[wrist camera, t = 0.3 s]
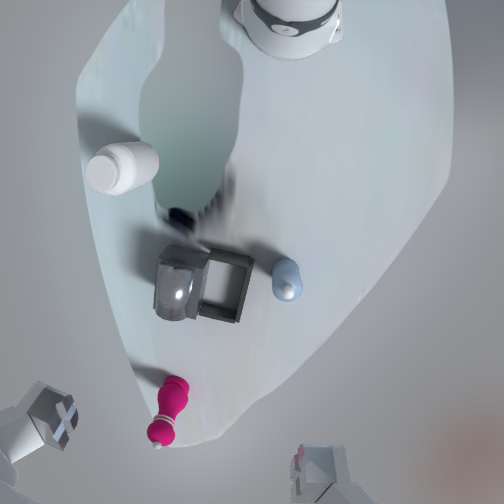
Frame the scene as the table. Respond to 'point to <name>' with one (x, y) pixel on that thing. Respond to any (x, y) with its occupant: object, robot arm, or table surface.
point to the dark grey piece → (193, 284)
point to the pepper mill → (168, 411)
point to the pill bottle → (121, 167)
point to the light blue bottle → (286, 280)
